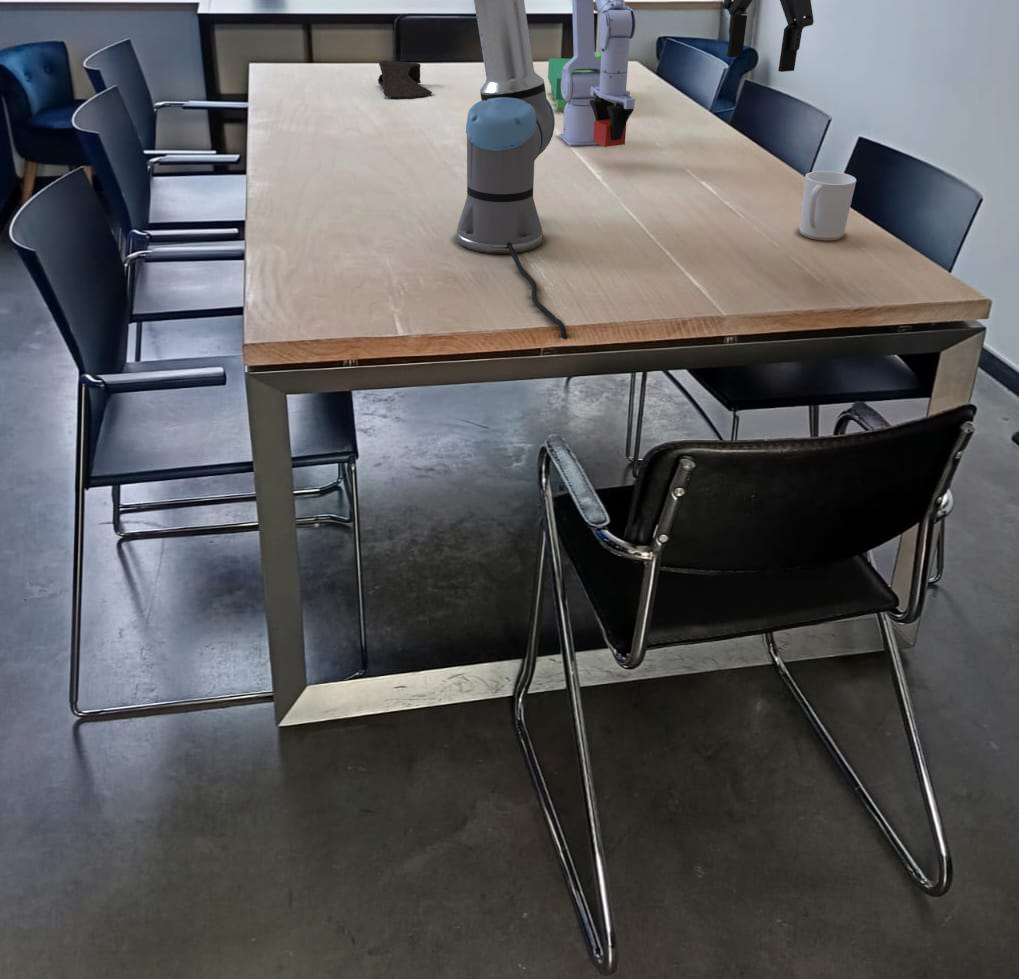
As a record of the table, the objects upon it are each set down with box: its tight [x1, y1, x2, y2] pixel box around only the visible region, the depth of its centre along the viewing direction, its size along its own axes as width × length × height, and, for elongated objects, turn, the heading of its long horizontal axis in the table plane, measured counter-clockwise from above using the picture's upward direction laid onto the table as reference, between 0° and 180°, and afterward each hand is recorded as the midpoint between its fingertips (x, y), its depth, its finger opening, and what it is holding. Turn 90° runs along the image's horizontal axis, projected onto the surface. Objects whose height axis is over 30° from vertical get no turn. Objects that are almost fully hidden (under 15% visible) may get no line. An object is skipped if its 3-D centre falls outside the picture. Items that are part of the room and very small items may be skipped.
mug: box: [798, 170, 857, 241], centre depth 199 cm, size 11×9×10 cm
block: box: [593, 119, 627, 148], centre depth 238 cm, size 5×5×4 cm
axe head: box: [377, 59, 433, 99], centre depth 299 cm, size 18×8×15 cm
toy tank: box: [547, 51, 616, 112], centre depth 293 cm, size 18×12×35 cm
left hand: (759, 63), depth 184 cm, fingers open, 13 cm apart
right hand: (609, 136), depth 238 cm, fingers closed on block, 5 cm apart
